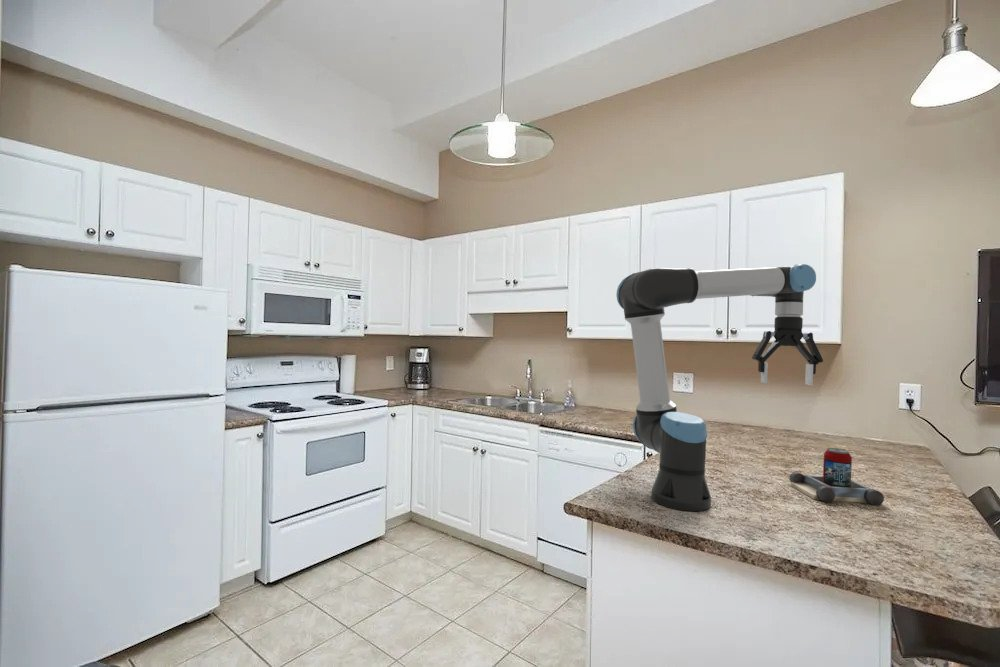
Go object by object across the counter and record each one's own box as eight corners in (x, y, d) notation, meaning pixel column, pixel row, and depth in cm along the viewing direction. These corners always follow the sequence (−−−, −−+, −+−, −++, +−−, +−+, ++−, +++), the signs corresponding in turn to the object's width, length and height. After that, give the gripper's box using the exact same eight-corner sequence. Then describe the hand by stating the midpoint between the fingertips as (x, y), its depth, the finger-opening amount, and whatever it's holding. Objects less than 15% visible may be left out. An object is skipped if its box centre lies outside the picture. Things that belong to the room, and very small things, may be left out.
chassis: (818, 501, 132) (818, 487, 132) (787, 484, 148) (787, 471, 148) (885, 505, 130) (886, 491, 130) (847, 487, 146) (847, 474, 146)
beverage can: (826, 492, 137) (827, 451, 137) (820, 485, 143) (821, 446, 144) (853, 495, 135) (855, 454, 135) (846, 488, 141) (847, 449, 141)
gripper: (822, 318, 150) (820, 384, 150) (742, 315, 152) (740, 380, 152) (837, 317, 143) (835, 386, 142) (753, 314, 144) (750, 383, 144)
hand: (786, 384), depth 147 cm, fingers open, 13 cm apart
